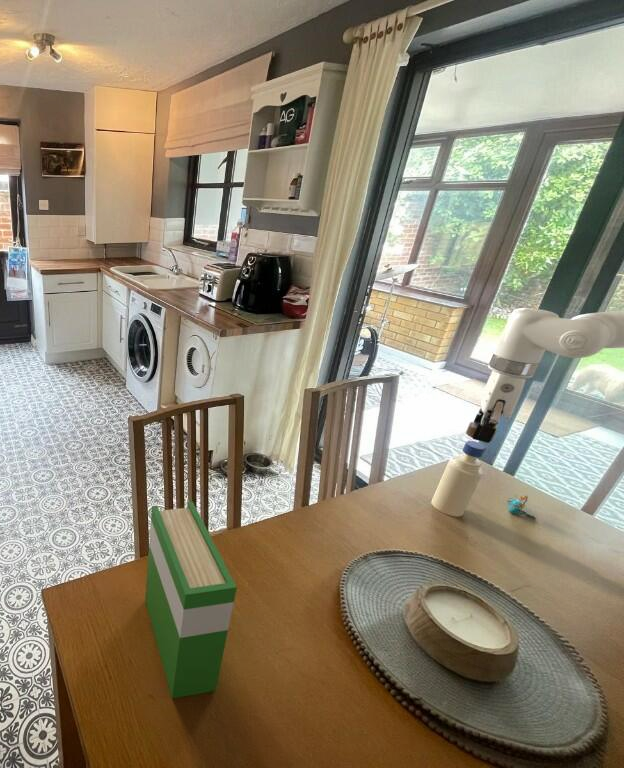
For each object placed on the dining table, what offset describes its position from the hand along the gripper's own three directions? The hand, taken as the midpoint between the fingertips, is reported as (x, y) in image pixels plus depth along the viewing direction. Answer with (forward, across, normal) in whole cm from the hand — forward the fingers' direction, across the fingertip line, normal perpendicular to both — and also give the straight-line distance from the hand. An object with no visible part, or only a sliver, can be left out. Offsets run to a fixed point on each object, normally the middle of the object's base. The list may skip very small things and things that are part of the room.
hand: (480, 434), depth 98 cm
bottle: (+22, 0, 0) cm, 22 cm away
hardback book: (+23, -75, +39) cm, 87 cm away
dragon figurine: (+23, +11, -15) cm, 29 cm away
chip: (0, 0, 0) cm, 0 cm away
